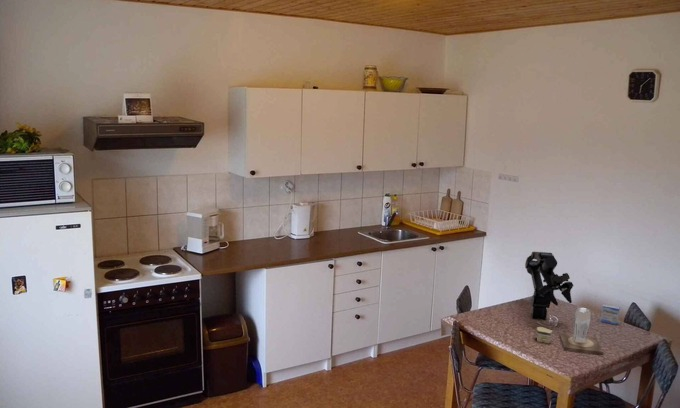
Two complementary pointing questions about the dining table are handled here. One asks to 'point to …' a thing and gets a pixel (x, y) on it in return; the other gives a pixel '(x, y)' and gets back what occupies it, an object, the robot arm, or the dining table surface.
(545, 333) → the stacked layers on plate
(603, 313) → the medicine box
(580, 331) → the beer glass
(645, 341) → the dining table surface
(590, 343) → the walnut board
